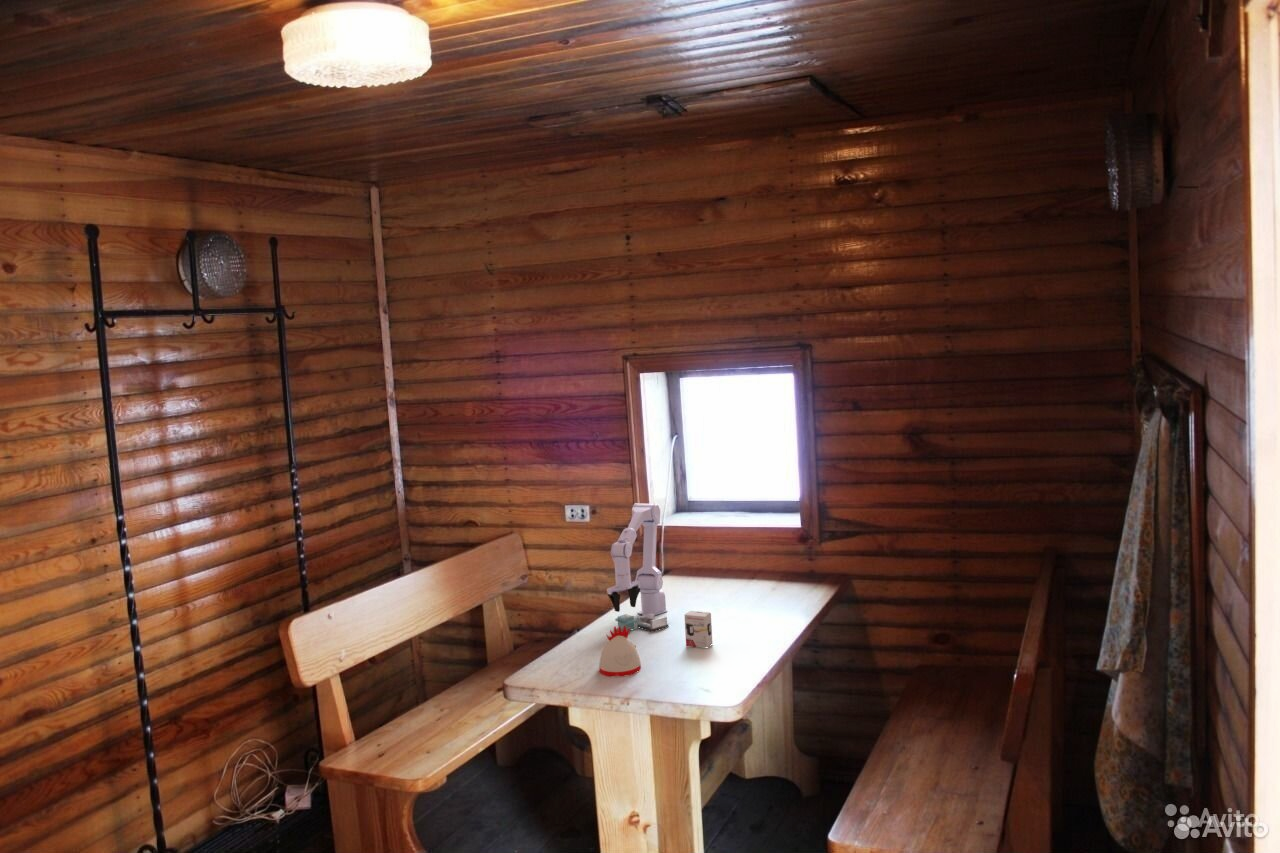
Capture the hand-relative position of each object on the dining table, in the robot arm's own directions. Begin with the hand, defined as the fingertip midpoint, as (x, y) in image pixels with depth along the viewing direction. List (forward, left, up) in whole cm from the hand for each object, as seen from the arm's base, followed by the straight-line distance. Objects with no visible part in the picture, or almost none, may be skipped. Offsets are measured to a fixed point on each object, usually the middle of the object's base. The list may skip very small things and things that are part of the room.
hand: (625, 608), depth 386 cm
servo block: (0, 0, -8) cm, 8 cm away
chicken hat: (+29, +34, -8) cm, 46 cm away
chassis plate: (-8, +6, -8) cm, 13 cm away
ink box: (-5, +36, -8) cm, 37 cm away
